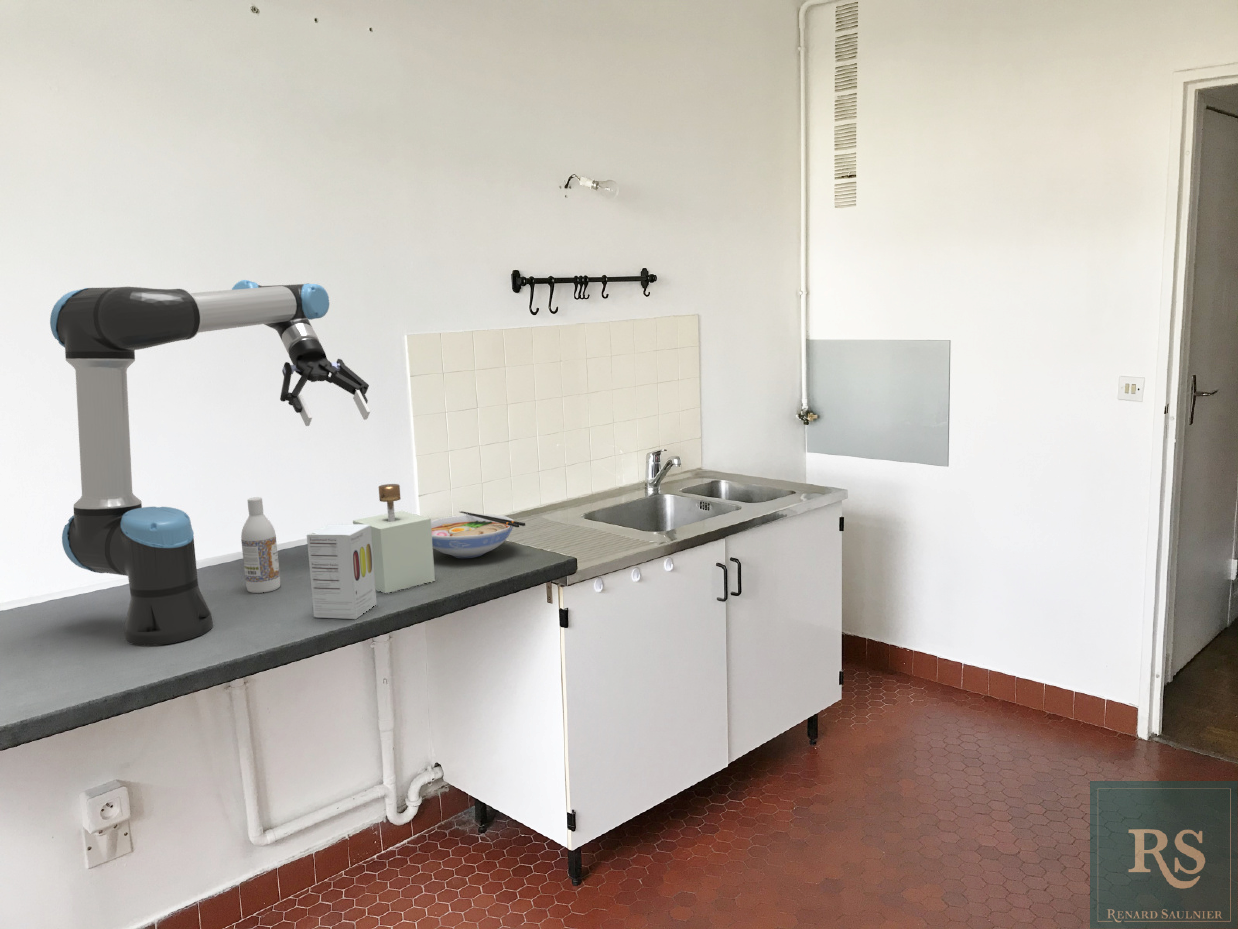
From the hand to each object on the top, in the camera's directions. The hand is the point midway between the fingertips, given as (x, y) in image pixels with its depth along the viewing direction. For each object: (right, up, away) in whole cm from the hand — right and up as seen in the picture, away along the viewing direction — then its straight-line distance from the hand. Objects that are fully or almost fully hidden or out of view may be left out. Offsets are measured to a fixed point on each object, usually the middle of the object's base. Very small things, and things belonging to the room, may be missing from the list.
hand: (338, 418), depth 213 cm
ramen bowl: (+26, -32, +19) cm, 45 cm away
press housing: (+13, -36, -2) cm, 38 cm away
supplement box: (+7, -39, -20) cm, 45 cm away
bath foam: (-15, -37, -3) cm, 40 cm away
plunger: (+13, -33, -2) cm, 36 cm away
